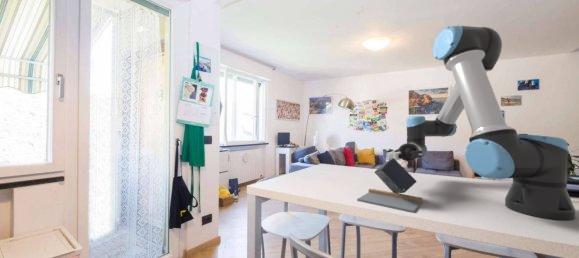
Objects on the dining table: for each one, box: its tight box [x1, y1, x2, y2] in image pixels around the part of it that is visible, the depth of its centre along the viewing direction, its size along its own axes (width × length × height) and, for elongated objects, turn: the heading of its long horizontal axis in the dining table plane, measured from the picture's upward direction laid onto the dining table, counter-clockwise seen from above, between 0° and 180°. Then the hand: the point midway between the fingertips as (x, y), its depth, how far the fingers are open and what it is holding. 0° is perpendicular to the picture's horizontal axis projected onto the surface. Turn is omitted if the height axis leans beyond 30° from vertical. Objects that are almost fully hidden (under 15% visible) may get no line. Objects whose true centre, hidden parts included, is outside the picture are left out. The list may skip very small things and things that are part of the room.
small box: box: [374, 158, 418, 194], centre depth 87 cm, size 11×6×10 cm
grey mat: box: [356, 188, 423, 214], centre depth 84 cm, size 18×12×2 cm, turn 50°
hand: (391, 156), depth 87 cm, fingers closed on small box, 1 cm apart
